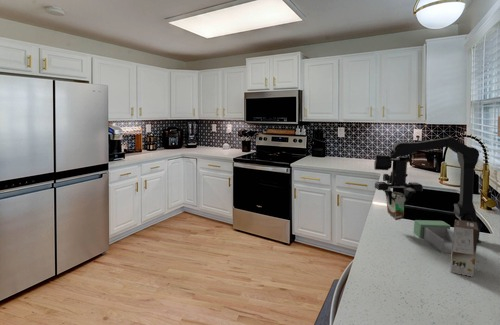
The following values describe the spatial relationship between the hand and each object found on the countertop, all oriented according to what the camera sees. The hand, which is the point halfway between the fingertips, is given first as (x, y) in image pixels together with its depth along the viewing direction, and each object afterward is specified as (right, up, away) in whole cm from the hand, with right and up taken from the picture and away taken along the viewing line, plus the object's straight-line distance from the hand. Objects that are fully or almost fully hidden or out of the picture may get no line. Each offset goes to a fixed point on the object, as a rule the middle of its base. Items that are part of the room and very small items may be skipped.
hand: (396, 204), depth 133 cm
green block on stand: (+13, -14, -10) cm, 22 cm away
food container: (+1, -5, +1) cm, 5 cm away
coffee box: (+6, -17, -33) cm, 37 cm away
